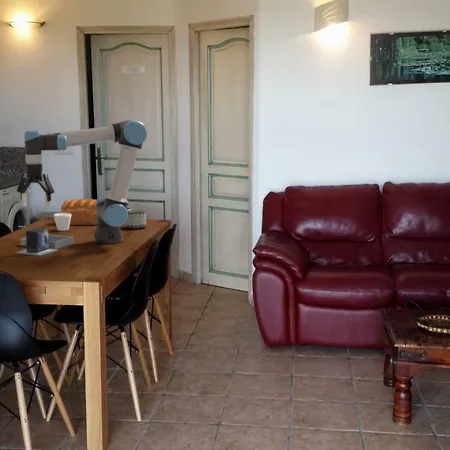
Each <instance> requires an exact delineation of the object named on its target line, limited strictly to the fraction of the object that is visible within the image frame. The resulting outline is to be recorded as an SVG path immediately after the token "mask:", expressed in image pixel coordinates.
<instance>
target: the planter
mask: <svg viewBox="0 0 450 450" xmlns="http://www.w3.org/2000/svg"><path fill="white" fill-rule="evenodd" d="M127 212H128V217H127V220H126V222H125V223H124V227H125V228H128V229H129V228H130V229H131V230H140V229H139V228H141V229H143V228H146V227H147V210H146V209H141V208H132V209H131V208H130V209H127Z"/></svg>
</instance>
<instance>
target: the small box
mask: <svg viewBox="0 0 450 450" xmlns="http://www.w3.org/2000/svg"><path fill="white" fill-rule="evenodd" d="M48 235H49V228H44V227H37V228H32V229H28V230H26V231H25V237H26V246H25V247H26V248H25V250H26V252H32V253H38V252H41V251H44V250H47V249H50V248H49V238H48Z"/></svg>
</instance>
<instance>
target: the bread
mask: <svg viewBox="0 0 450 450" xmlns="http://www.w3.org/2000/svg"><path fill="white" fill-rule="evenodd" d="M96 201H97V199H93V198H91V199H86V198H81V199H66V200H65V201H64V202H63V204H62V205H61V207H60V208H61V209H60V210H61V212H60V213H69V214H71V220H70V225H69V226H97V213H96Z"/></svg>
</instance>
